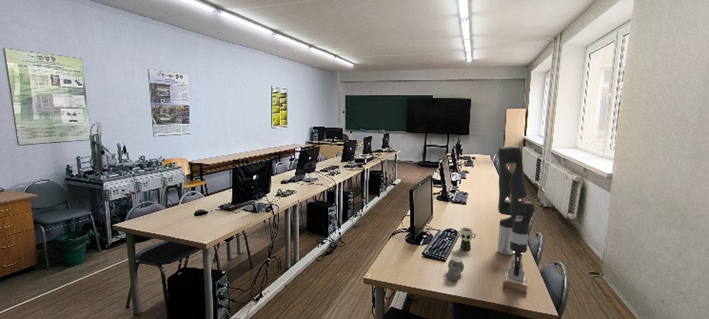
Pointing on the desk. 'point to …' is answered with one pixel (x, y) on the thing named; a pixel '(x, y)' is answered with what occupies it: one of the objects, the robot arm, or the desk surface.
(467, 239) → the character mug
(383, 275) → the desk surface
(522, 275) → the padlock
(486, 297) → the desk surface
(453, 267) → the pipe fitting
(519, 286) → the base
